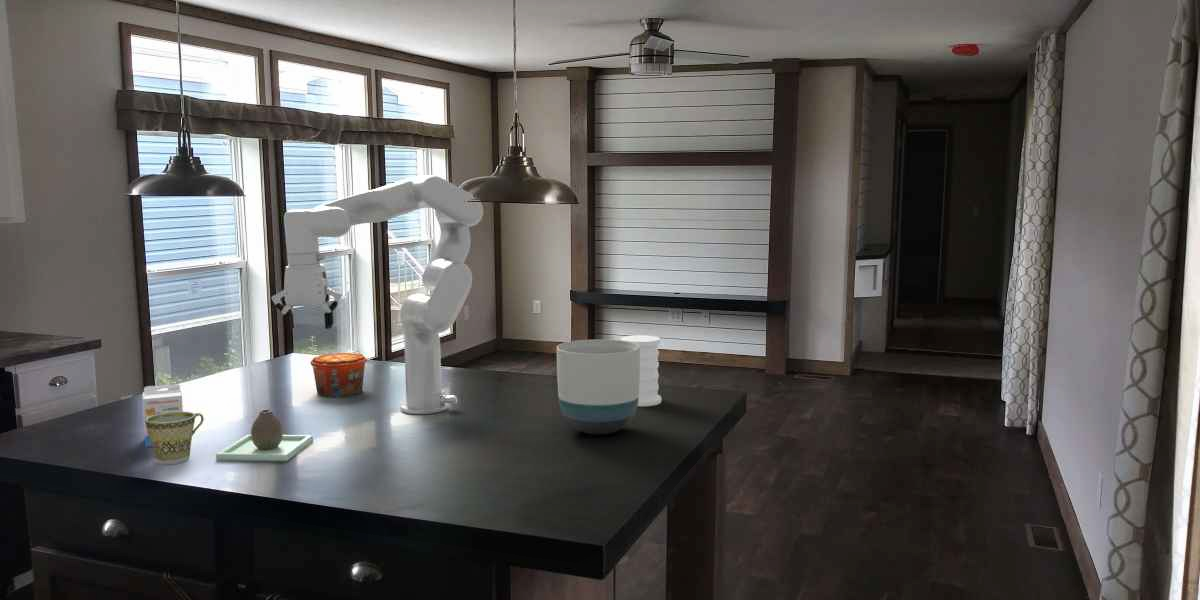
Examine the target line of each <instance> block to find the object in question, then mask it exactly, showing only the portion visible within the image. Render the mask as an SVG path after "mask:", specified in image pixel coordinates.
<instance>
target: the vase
mask: <svg viewBox="0 0 1200 600" xmlns="http://www.w3.org/2000/svg"><path fill="white" fill-rule="evenodd" d="M283 430H284V429H283V426H282V422H281V420H280V419H278V418H277V416H276V415H275V414H274V413H273V411H272V409H261V410H260V411H259V414H258V416H257V417H256V418H255V420H254V422H253V423H252V426H251V430H250V434H251V438H252V441H253V443H254V445H255V446H256V447H257V448H258V449H260V450H271V449H275V448H276V447H277V446H278V445H279V444H280V443H281V441H282V437H283V435H284V431H283Z"/></svg>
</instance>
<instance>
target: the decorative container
mask: <svg viewBox="0 0 1200 600" xmlns="http://www.w3.org/2000/svg"><path fill="white" fill-rule="evenodd" d="M620 341H628V342H632V343H636V344H638V345H639V346H640V383H639V399H638V405H637V407H652V406H657V405H660V404H661V403H662V396H661V395H660V394H658V393H659V388H660V387H659V382H658V380H659V376H660V374H659V370H658V369H659V367H660V366H659V365H660V363H659V360H658V359H659V354H660V351H659V349H658V348H659V345H660V344H661V338H660V337H659V336H654V335H648V334H647V335H645V334H644V335H626V336H623V337H621V338H620Z"/></svg>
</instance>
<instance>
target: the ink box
mask: <svg viewBox="0 0 1200 600" xmlns="http://www.w3.org/2000/svg"><path fill="white" fill-rule="evenodd" d="M161 388H163V390H160V389H161ZM158 389H159V390H158ZM164 389H165V390H164ZM183 405H184V404H183V394H182V390H181V385H180V384H179V383H176V384H166V385H165V384H163V385H148V386H144V388H143V392H142V414H143V417H142V418H143V430H144V431H143V434H144V443H145V447H146V448H150V447H152V444H151V440H150V437H149V434H148V431H147V427H146V422H145V419H146V418H148V417H150V416H152V415H156V414H161V413H167V412H184V408H183V407H184V406H183Z"/></svg>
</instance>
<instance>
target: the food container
mask: <svg viewBox="0 0 1200 600" xmlns="http://www.w3.org/2000/svg"><path fill="white" fill-rule="evenodd" d="M367 361H368V358H367V357H365V356H364V355H363V354H361V353H355V352H354V353H350V352H337V353H332V354H331V353H326V354H321V355H318V356H314V357H313V358H312V360H311V361H310V365H311V367H312V369H313V371H312V372H313V375H314V377H313V378H314V382H315V383H314V384H315V388H316V394H317V395H318V396H320V397H324V398H344V397H345V398H347V397H352V396H356V395H359V394H361V393H362V392H363V387H364V377H365V376H364V374H365V365H366V362H367Z"/></svg>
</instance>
